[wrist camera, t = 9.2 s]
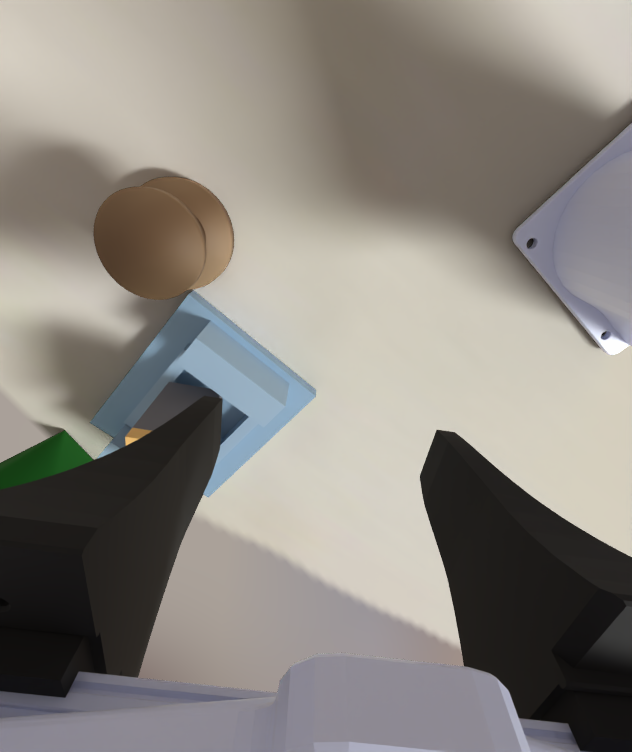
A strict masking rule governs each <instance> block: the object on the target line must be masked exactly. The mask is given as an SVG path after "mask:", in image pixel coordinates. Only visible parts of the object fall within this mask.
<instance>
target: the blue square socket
mask: <svg viewBox="0 0 632 752" xmlns="http://www.w3.org/2000/svg"><path fill="white" fill-rule="evenodd" d="M168 382H174V383H180V384H186V385H192V386H198V387H204V388H210V389H212V390H213V391H214V392H216V393H217V394H219V395H220V396H221V397H222V398H223V404H222V422H221V440H220V450H219V454H218V457H217V460H216V464H215V467H214V470H213V473H212V476H211V478H210V480H209V482H208V485H207V487H206V489H205V491H204V493H203V494H204V495H205V496H207V497H209V496H210V495H211V494H213V493H214V492H215V491H216V490H217V489H218V488H219V487H220V486H221V485H222V484H223V483H224V482H225V481H226V480H227V479H228V478H230V477H231V476H232V475H233V474H234V473H235V472H236V471H237V470H238V469H239V468H240V467H241V466H242V465H243V464H244V463H245V462H247V461H248V460H249V459H250V458H251V457H252V456H253V455H254V454H255V453H256V452H257V451H258V450H259V449H260V448H261V447H262V446H264V445H265V444H266V443H267V442H268V441H269V440H270V439H271V438H272V437H273V436H274V435H275V434H276V433H277V432H278V431H279V430H281V429H282V428H283V427H284V426H285V425H286V424H287V423H288V422H289V421H290V420H291V419H292V418H293V417H294V416H295V415H296V414H298V413H299V412H300V411H301V410H302V409H303V408H304V407H305V406H306V405H307V404H308V403H309V402H310V401H311V400H312V399H313V398H315V397H316V390H315V389H314V388H313V387H312V386H311V385H309V384H308V383H307V382H306V381H304V380H303V379H302V378H301V377H299V376H298V375H297V374H296V373H295V372H293V371H292V370H291V369H290V368H288V367H287V366H286V365H285V364H283V363H282V362H281V361H280V360H279V359H277V358H276V357H275V356H274V355H272V354H271V353H270V352H269V351H267V350H266V349H265V348H264V347H263V346H261V345H260V344H259V343H258V342H256V341H255V340H254V339H253V338H251V337H250V336H249V335H248V334H247V333H245V332H244V331H243V330H242V329H240V328H239V327H238V326H237V325H235V324H234V323H233V322H232V321H231V320H229V319H228V318H227V317H226V316H224V315H223V314H222V313H221V312H219V311H218V310H217V309H216V308H215V307H213V306H212V305H211V304H210V303H208V302H207V301H206V300H205V299H203V298H202V297H201V296H200V295H199V294H197V293H196V292H195V291H194V290H193V291H192V292H191V293H189V294H188V296H187V297H186V298H185V300H184V301H183V302H182V303H181V305H180V306H179V307H178V309H177V310H176V311H175V313H174V314H173V315H172V316H171V318H170V319H169V320H168V322H167V323H166V324H165V326H164V327H163V328H162V329H161V331H160V332H159V333H158V335H157V336H156V337H155V339H154V340H153V341H152V342H151V344H150V345H149V346H148V348H147V349H146V350H145V352H144V353H143V354H142V355H141V357H140V358H139V359H138V361H137V362H136V363H135V365H134V366H133V367H132V368H131V370H130V371H129V372H128V374H127V375H126V376H125V378H124V379H123V380H122V381H121V383H120V384H119V385H118V387H117V388H116V389H115V391H114V392H113V393H112V394H111V396H110V397H109V398H108V400H107V401H106V402H105V403H104V405H103V406H102V407H101V409H100V410H99V411H98V413H97V414H96V415H95V416H94V418H93V419H92V420H91V422H90V423H91V424H93V425H94V426H96V427H98V428H99V429H101V430H102V431H104V432H105V433H107V434H109V435H110V436H112V437H113V440H112V441H111V442H110V443H109V444H108V446H107V447H106V448H105V449H104V451H103V452H102V453H101V454H100V455H99V457H98V458H100V457H103V456H105V455H107V454H110V453H112V452H114V451H116V450H118V449H120V448H122V447H124V446H126V443H125V436H126V435H127V434H128V433H129V431H130V430H131V429H132V428H133V426H134V425H135V424H136V422H137V421H138V420H139V419H140V417H141V416H142V415H143V414H144V412H145V411H146V410H147V409H148V407H149V406H150V405H151V404H152V402H153V401H154V400H155V399H156V397H157V396H158V395H159V394H160V392H161V391H162V390H163V389H164V387H165V386H166V385H167V384H168ZM98 458H97V459H98Z"/></svg>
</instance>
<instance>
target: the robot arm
mask: <svg viewBox="0 0 632 752" xmlns="http://www.w3.org/2000/svg"><path fill="white" fill-rule="evenodd" d="M531 238H533V240H534V242H533V245H532V246H531V247H529V248H527V246H526V245H527V242H528V240H529V239H531ZM513 242H514V244H515V245H516V246H517V247H518V248H519V250H520V251H521V252H522V253H523V255H524V256H525V257H526V258H527V259H528V261H529V262H530V263H531V264H532V265H533V267H534V268H535V269H536V270H537V272H538V273H539V274H540V275H541V276H542V278H543V279H544V280H545V281H546V282H547V284H548V285H549V286H550V287H551V289H552V290H553V291H554V292H555V293H556V295H557V296H558V297H559V298H560V299H561V301H562V302H563V303H564V304H565V305H566V307H567V308H568V309H569V310H570V312H571V313H572V314H573V315H574V316H575V318H576V319H577V320H578V321H579V322H580V324H581V325H582V326H583V327H584V329H585V330H586V331H587V332H588V333H589V335H590V336H591V337H592V338H593V339H594V341H595V342H596V343H597V344H598V346H599V347H600V348H601V349H602V350H603V351H604V352H605V353H607V354H609V355H614V354H617V353H619V352H621V351H622V350H623V349H625V348H626V347H628V346H629V345H631V346H632V123H631V124H630V125H629V126H627V127H626V128H625V129H624V130H623V131H622V132H621V133H620V134H619V135H618V136H617V137H616V138H614V139H613V140H612V141H611V142H610V143H609V144H608V145H607V146H606V147H605V148H604V149H602V150H601V151H600V152H599V153H598V154H597V155H596V156H595V157H594V158H593V159H592V160H590V161H589V162H588V163H587V164H586V165H585V166H584V167H583V168H582V169H581V170H580V171H578V172H577V173H576V174H575V175H574V176H573V177H572V178H571V179H570V180H569V181H568V182H567V183H565V184H564V185H563V186H562V187H561V188H560V189H559V190H558V191H557V192H556V193H555V194H553V195H552V196H551V197H550V198H549V199H548V200H547V201H546V202H545V203H544V204H543V205H541V206H540V207H539V208H538V209H537V210H536V211H535V212H534V213H533V214H532V215H531V216H530V217H528V218H527V219H526V220H525V221H524V222H523V223H522V224H521V225H520V226H519V227H518V228H517V229H516V230H515V231H514V233H513ZM605 331H606V334H605V335H604V336H603V337H601V334H602V333H603V332H605ZM222 404H223V398H216V397H209V396H203V397H202V398H200V399H199V400H197V401H196V402H194V403H193V404H192V405H190V406H189V407H187V408H186V409H185V410H183V411H182V412H180V413H179V414H178V415H176V416H175V417H173V418H172V419H170V420H169V421H167V422H166V423H164V424H163V425H161V426H160V427H158V428H156V429H155V430H153V431H151V432H150V433H148V434H146V435H145V436H143V437H141V438H140V439H138V440H136V441H134V442H132V443H130V444H128V445H126V446H124V447H122V448H120V449H118V450H116V451H114V452H112V453H110V454H107V455H105V456H103V457H100V458H98V459H95V460H93V461H90V462H88V463H85V464H83V465H80V466H78V467H75V468H72V469H70V470H67V471H64V472H61V473H58V474H55V475H52V476H48V477H45V478H42V479H39V480H35V481H32V482H28V483H25V484H21V485H17V486H13V487H9V488H5V489H1V490H0V752H632V557H630V556H628V555H626V554H624V553H622V552H620V551H618V550H616V549H615V548H613V547H611V546H609V545H607V544H606V543H604V542H602V541H600V540H598V539H597V538H595V537H593V536H591V535H590V534H588V533H586V532H585V531H583V530H581V529H580V528H578V527H576V526H575V525H573V524H571V523H570V522H568V521H567V520H565V519H564V518H562V517H561V516H559V515H558V514H556V513H555V512H553V511H552V510H550V509H549V508H547V507H546V506H544V505H543V504H542V503H540V502H539V501H537V500H536V499H535V498H533V497H532V496H531V495H529V494H528V493H527V492H525V491H524V490H523V489H522V488H520V487H519V486H518V485H516V484H515V483H514V482H513V481H511V480H510V479H509V478H508V477H507V476H505V475H504V474H503V473H502V472H501V471H499V470H498V469H497V468H496V467H495V466H494V465H492V464H491V463H490V462H489V461H488V460H487V459H486V458H484V457H483V456H482V455H481V454H480V453H479V452H478V451H476V450H475V449H474V448H473V447H472V446H471V445H470V444H468V443H467V442H466V441H465V440H464V439H463V438H461V437H460V436H459V435H457V434H456V433H455V432H449V431H442V430H437V431H436V433H435V436H434V439H433V442H432V444H431V447H430V450H429V452H428V455H427V458H426V461H425V463H424V466H423V469H422V472H421V474H420V481H421V488H422V494H423V499H424V504H425V508H426V511H427V514H428V517H429V521H430V524H431V527H432V530H433V533H434V536H435V539H436V542H437V545H438V549H439V552H440V555H441V558H442V561H443V564H444V567H445V571H446V575H447V578H448V582H449V587H450V592H451V597H452V601H453V606H454V611H455V616H456V622H457V627H458V633H459V638H460V644H461V650H462V656H463V662H464V666H456V665H447V664H438V663H429V662H420V661H412V660H403V659H394V658H384V657H376V656H367V655H358V654H349V653H326V654H316V655H313V656H310V657H308V658H305V659H303V660H300V661H297V662H296V663H294V664H293V665H292V666H291V667H290V668H289V670H288V671H287V672H286V674H285V675H284V676H283V677H282V679H281V680H280V683H279V687H278V691H277V692H267V691H258V690H248V689H239V688H229V687H219V686H211V685H201V684H192V683H182V682H172V681H164V680H154V679H144V678H138V675H139V672H140V668H141V665H142V662H143V658H144V655H145V652H146V648H147V645H148V642H149V639H150V636H151V632H152V629H153V626H154V622H155V620H156V616H157V613H158V610H159V607H160V604H161V601H162V598H163V594H164V592H165V588H166V586H167V582H168V579H169V576H170V573H171V571H172V567H173V565H174V562H175V559H176V556H177V553H178V550H179V547H180V545H181V542H182V540H183V537H184V535H185V532H186V530H187V528H188V526H189V524H190V522H191V519H192V517H193V515H194V513H195V511H196V509H197V506H198V504H199V502H200V500H201V498H202V496H203V493H204V491H205V489H206V487H207V485H208V482H209V480H210V478H211V476H212V473H213V470H214V467H215V464H216V460H217V457H218V454H219V450H220V440H221V422H222Z"/></svg>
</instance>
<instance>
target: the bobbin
mask: <svg viewBox="0 0 632 752" xmlns="http://www.w3.org/2000/svg"><path fill="white" fill-rule="evenodd" d="M94 242H95V246H96V250H97V253H98V256H99V258H100V260H101V262H102V264H103V266H104V267H105V269H106V270H107V272H108V273H109V274H110V276H111V277H112V278H113V279H114V280H115V281H116V282H117V283H118V284H120V285H121V286H122V287H123V288H125V289H126V290H128V291H130V292H132V293H133V294H136V295H138V296H140V297H144V298H147V299H154V300H163V299H169V298H173V297H176V296H178V295H180V294H182V293H184V292H185V291H186V290H190V289H196V288H200V287H203V286H205V285H207V284H209V283H211V282H212V281H213V280H215V279H216V278H217V277H218V276H219V275H220V274H221V273H222V272H223V271H224V270H225V268H226V267H227V265H228V264H229V261H230V259H231V256H232V253H233V248H234V232H233V227H232V223H231V220H230V218H229V215H228V213H227V211H226V209H225V208H224V206H223V204H222V203H221V202H220V201H219V199H218V198H217V197H216V196H215V195H214V194H213V193H212V192H211V191H209V190H208V189H207V188H205V187H204V186H202V185H201V184H199V183H197V182H195V181H192V180H189V179H185V178H179V177H162V178H156V179H153V180H150V181H148V182H146V183H145V184H143V185H142V186H140V187H130V188H125V189H122V190H119V191H117V192H115V193H114V194H112V195H111V196H109V197H108V198H107V199H106V200H105V201H104V202H103V204H102V205H101V207H100V208H99V210H98V213H97V215H96V218H95V223H94Z"/></svg>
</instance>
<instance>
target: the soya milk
mask: <svg viewBox="0 0 632 752" xmlns="http://www.w3.org/2000/svg"><path fill="white" fill-rule="evenodd" d="M90 461H93V459H92V458H91V457H90V456H89V455H88V454H87V453H86V452H85V451H84V450H83V449H82V448H81V447H80V446H79V445H78V444H77V443H76V441H75V440H74V439H73V438H72V437H71V436H70V435H69V434H68V433H67V432H66V431H65V430H64V431H62V432H60V433H58V434H56V435H54V436H52V437H50V438H48V439H46V440H45V441H43V442H41V443H39V444H37V445H35V446H33V447H31V448H29V449H27V450H25V451H23V452H21V453H19V454H17V455H15V456H13V457H11V458H9V459H7V460H5V461H3V462H1V463H0V490H1V489H5V488H9V487H13V486H17V485H21V484H25V483H28V482H32V481H35V480H39V479H42V478H45V477H48V476H52V475H55V474H58V473H61V472H64V471H67V470H70V469H72V468H75V467H78V466H80V465H83V464H85V463H88V462H90Z"/></svg>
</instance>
